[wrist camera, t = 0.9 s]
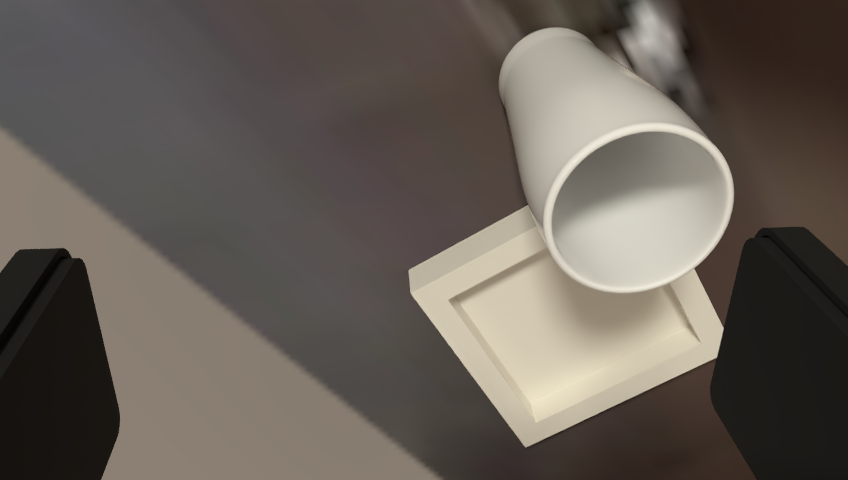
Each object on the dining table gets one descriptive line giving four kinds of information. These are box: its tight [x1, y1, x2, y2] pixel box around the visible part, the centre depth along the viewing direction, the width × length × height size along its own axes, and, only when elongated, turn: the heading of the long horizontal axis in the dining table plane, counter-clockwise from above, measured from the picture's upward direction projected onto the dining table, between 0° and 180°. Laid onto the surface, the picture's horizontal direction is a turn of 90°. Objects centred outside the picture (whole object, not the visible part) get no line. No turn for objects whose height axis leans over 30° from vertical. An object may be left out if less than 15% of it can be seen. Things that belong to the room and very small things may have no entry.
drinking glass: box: [499, 27, 734, 294], centre depth 33 cm, size 7×7×15 cm
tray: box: [409, 205, 724, 448], centre depth 45 cm, size 14×14×2 cm
